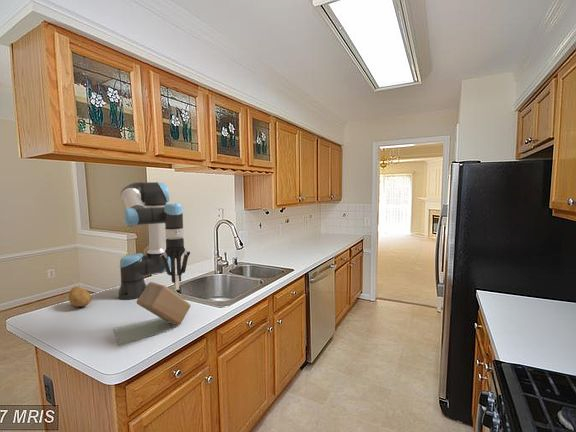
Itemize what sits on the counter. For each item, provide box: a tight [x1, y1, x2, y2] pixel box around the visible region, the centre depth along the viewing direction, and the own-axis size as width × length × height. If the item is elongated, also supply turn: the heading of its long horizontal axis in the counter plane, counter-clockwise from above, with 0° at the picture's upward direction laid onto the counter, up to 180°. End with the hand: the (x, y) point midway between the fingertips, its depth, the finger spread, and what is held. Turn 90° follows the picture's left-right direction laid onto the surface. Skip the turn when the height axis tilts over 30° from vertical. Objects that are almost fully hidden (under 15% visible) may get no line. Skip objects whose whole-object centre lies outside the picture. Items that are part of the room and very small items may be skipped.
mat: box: [113, 316, 174, 346], centre depth 122 cm, size 16×20×1 cm
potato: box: [68, 286, 92, 308], centre depth 148 cm, size 9×16×9 cm, turn 48°
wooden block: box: [135, 281, 191, 326], centre depth 123 cm, size 10×10×20 cm
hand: (176, 288), depth 130 cm, fingers closed
